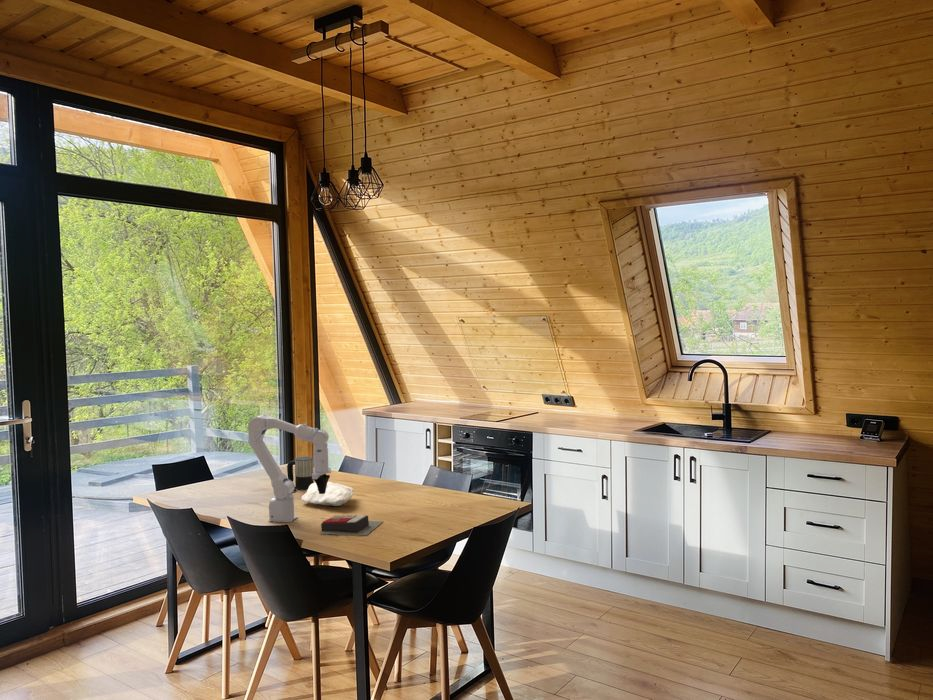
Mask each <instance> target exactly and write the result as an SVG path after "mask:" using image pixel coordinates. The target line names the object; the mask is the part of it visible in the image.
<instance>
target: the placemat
mask: <svg viewBox="0 0 933 700" xmlns="http://www.w3.org/2000/svg"><path fill="white" fill-rule="evenodd" d="M383 523H384V521H381V520H380V521H377V520H375V521H374V520H369V525H368V526H366V527H364V528H363V529H361V530H359V531H358V532H347V531H321V532H320V535H321V534H324V535H325V534H326V535H325V536H329V535H328V534H331V535H330V536H348V535H360V536H359V537H367V536H368V535H370V534H371V533H372V532H373V531H374V530H376V529H377V528H378V527H379V526H380V524H381V525H382V524H383ZM375 528H376V529H375ZM371 531H372V532H371ZM370 532H371V533H370ZM332 534H333V535H332ZM361 535H362V536H361Z"/></svg>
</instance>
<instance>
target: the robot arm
mask: <svg viewBox="0 0 933 700" xmlns="http://www.w3.org/2000/svg"><path fill="white" fill-rule="evenodd" d="M246 428H247V431H248V432H247V433H248V435H247V436H248V444H249V445H250V447H251V449H252V451H253V452H254V454H255V456H256V457H257V459H258V460H259V462H260V464H261V465H262V467H263V469H264V470H265V472H266V474H267V475H268V477H269V478H270V481H271V482H270V483H271V487H272V489H273V494H274V496H275V497H272V498H271V499H270V500H269V503H268V517H269V518H268V519H269V520H268V522H270V521H273V523H275V522H276V523H278V522H279V523H291V522H292V521H294V520H296V519H298V518H299V516H297V515H295V501H294V498H295V497H294V495H293V493H294V492H295V491H294V488H295V487H296V486H295V484H294V483H295V482H294V481H293V482H292V481H291V480H289V479H288V475H286V474H285V473H283V472H282V469H280V465H279V464H278V463H277V461H276V459H275V458H274V456H273V454H272V453H271V452H270V450H269V447H268V446H267V445H266V443H265V442H264V437H265V434H266V432H267V431H268V430H272V429H278V430H280V431H284V432H288V433H291V434H294V436H295V438H297V439H299V440H303V441H306V442H308V443H312V445H313V458H314V459H313V474H312V479H313V480H314V483H316V485H317V488H318V491H319V494H325V492H326V487H327V482H328V481H329V480H330V477H331V476H330V474H331V473H332V470H331V469H332V468H331V467H329V448H328V441H329V433H328V432H327V431H326V430H324V429H319V428H317V427H315V428H314V427H311V426H308V424H307V423H303V424H302V423H299V424H298V425H296V424H293V423H290V422H288V421H284V420H282V419H281V418H280V419H279V418H277V417H274V416H271V415H267V414H259V415H257V416H255V417H252V418H251V419H250V421H249V422H248V425H247V427H246Z"/></svg>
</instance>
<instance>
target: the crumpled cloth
mask: <svg viewBox="0 0 933 700" xmlns="http://www.w3.org/2000/svg"><path fill="white" fill-rule="evenodd" d="M354 492H355V489H354V488H353V487H352V486H348V485H345V484H342V483H337V482H332V481H329V480H328V482H327V487H326V492H325V494H319V491H318V488H317V485H316V483H315V482H314V483H313V484H311V485H310V486H309V488H308V489H306V492H305V493H304V494H303V495H302V496H301V498H300V499H301V501H303V502H304V503H305V502H306V503H311V504H314V505H323V506H330V505H332V506H334V507H337V506H342V505H344V504H346V503H347V502H348V501H350V500H351V499H352V497H353V496H354Z"/></svg>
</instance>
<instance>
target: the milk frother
mask: <svg viewBox="0 0 933 700" xmlns="http://www.w3.org/2000/svg"><path fill="white" fill-rule="evenodd" d="M286 472H287V478H288V479H289V480H291V481H292V482H293V483H295V484H294V486H295V488H294V491H293V492H296V491H297V490H300V489H305V490H308V488H309V486H310V485H311V484H313V483H315V481H314V479H312V474H313V472H314V456H298V457H295V458H294V459H293V460H290V461H288V463H287V465H286ZM294 472H295V473H294Z"/></svg>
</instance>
